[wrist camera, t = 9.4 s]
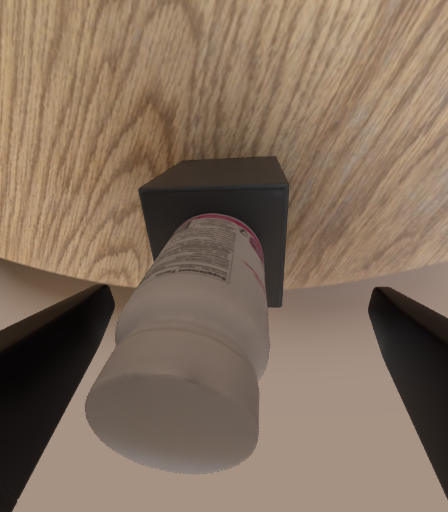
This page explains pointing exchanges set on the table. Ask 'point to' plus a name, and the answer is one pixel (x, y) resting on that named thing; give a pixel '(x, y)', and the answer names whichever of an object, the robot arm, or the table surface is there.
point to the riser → (224, 205)
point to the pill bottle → (189, 354)
